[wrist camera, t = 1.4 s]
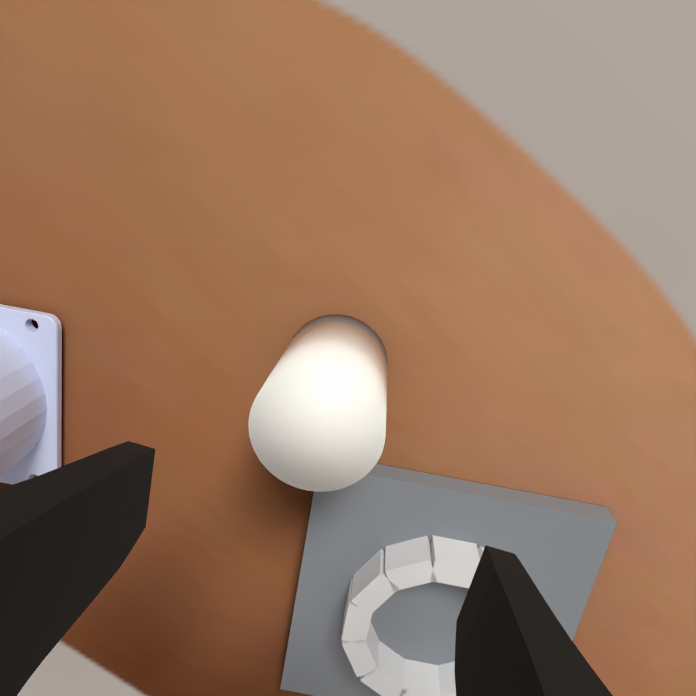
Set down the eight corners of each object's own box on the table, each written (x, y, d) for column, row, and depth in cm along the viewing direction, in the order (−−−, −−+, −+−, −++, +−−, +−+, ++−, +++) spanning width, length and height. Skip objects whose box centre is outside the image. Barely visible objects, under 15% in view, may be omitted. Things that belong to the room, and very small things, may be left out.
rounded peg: (280, 400, 22) (241, 477, 16) (293, 306, 21) (256, 354, 15) (377, 418, 22) (372, 503, 16) (396, 324, 21) (398, 380, 15)
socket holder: (284, 670, 26) (273, 719, 24) (321, 453, 23) (312, 485, 20) (529, 719, 26) (543, 773, 24) (607, 507, 22) (633, 546, 20)
